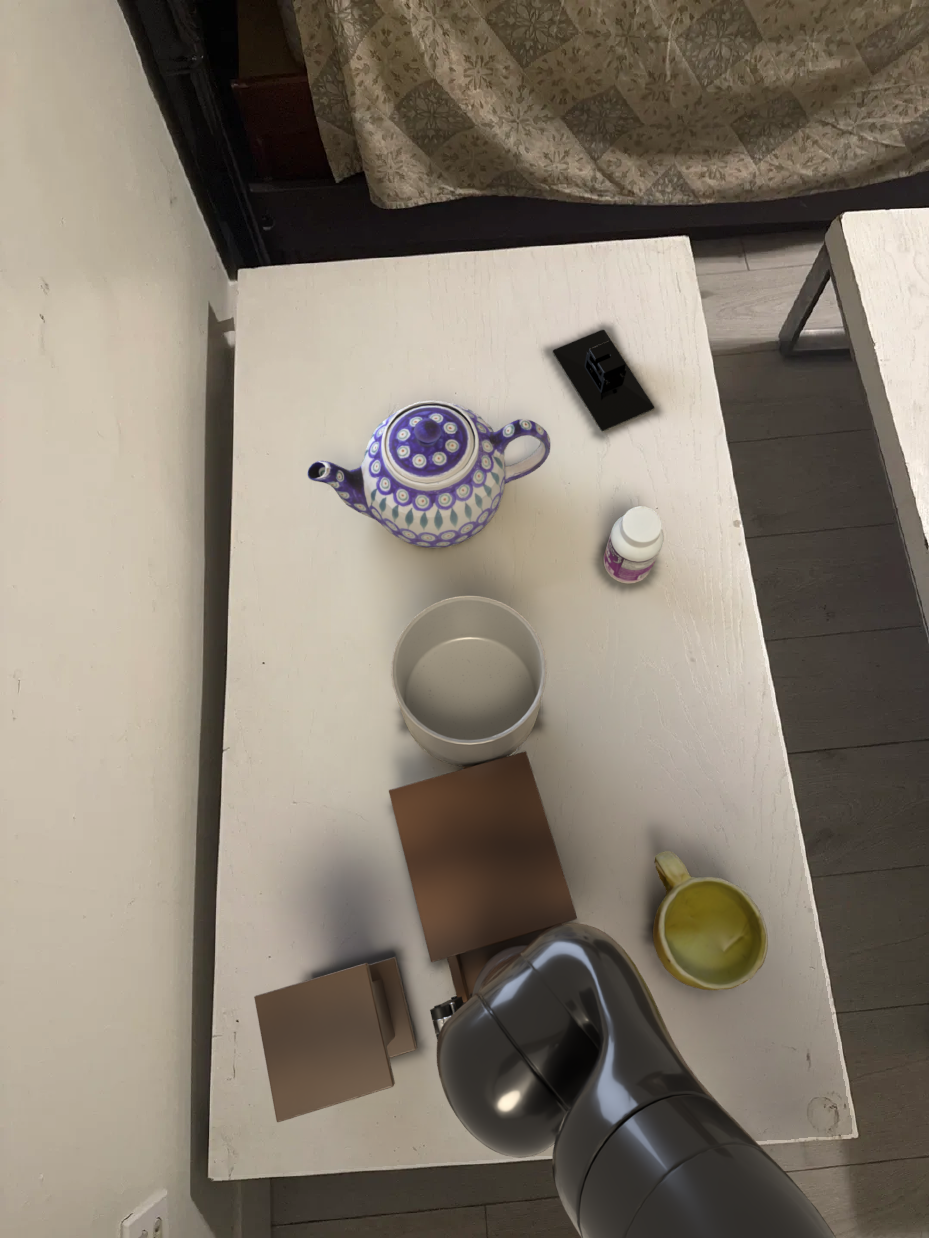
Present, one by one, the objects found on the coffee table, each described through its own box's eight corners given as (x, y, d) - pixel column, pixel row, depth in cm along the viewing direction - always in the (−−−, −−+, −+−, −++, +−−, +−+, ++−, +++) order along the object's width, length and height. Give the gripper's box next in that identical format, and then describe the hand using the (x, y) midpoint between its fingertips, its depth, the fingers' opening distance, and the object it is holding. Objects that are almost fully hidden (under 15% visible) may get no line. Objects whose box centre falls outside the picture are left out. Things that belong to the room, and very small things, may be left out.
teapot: (533, 426, 101) (541, 343, 87) (559, 545, 96) (573, 477, 82) (318, 459, 100) (291, 381, 86) (332, 581, 95) (306, 518, 81)
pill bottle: (599, 541, 96) (612, 500, 87) (648, 538, 96) (665, 497, 87) (605, 587, 94) (618, 549, 85) (654, 584, 94) (673, 546, 85)
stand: (417, 1047, 79) (393, 1086, 58) (331, 1074, 78) (276, 1122, 58) (395, 956, 82) (366, 962, 61) (312, 981, 81) (253, 996, 60)
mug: (790, 978, 78) (783, 970, 70) (682, 1011, 81) (662, 1006, 72) (737, 848, 85) (724, 825, 76) (638, 881, 87) (615, 863, 79)
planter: (408, 658, 92) (392, 596, 75) (532, 656, 91) (543, 594, 75) (407, 782, 87) (389, 745, 70) (537, 780, 87) (550, 743, 70)
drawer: (610, 1085, 77) (625, 1103, 68) (485, 1124, 76) (485, 1147, 68) (547, 876, 83) (554, 869, 75) (431, 910, 82) (425, 906, 74)
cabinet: (566, 920, 82) (577, 918, 72) (437, 959, 81) (431, 962, 71) (521, 772, 87) (526, 750, 77) (399, 806, 86) (388, 789, 76)
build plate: (551, 352, 105) (554, 326, 100) (605, 330, 106) (610, 304, 101) (601, 432, 100) (606, 409, 96) (656, 408, 101) (664, 384, 97)
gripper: (436, 1104, 55) (447, 1066, 70) (654, 1036, 56) (615, 1014, 72) (407, 979, 57) (423, 969, 73) (615, 916, 58) (586, 921, 74)
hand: (518, 991), depth 72 cm, fingers closed on block, 5 cm apart
